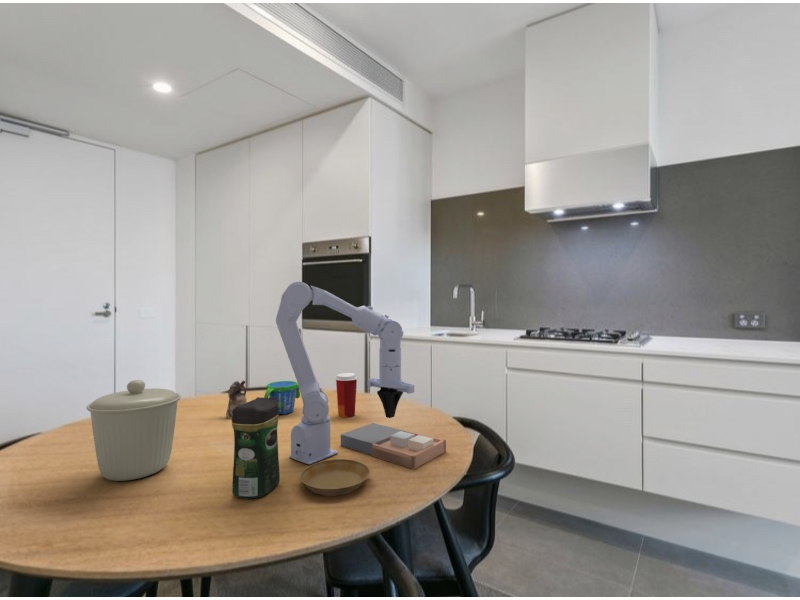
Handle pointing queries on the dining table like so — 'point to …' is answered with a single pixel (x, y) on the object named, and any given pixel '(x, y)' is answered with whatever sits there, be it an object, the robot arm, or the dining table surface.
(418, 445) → the cream tile
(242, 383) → the figurine
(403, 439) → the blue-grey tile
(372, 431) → the charcoal board
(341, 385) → the paper cup
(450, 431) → the dining table surface
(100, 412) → the canister
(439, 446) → the terracotta tray
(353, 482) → the plant saucer
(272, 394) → the snack cup
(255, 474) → the coffee jar
